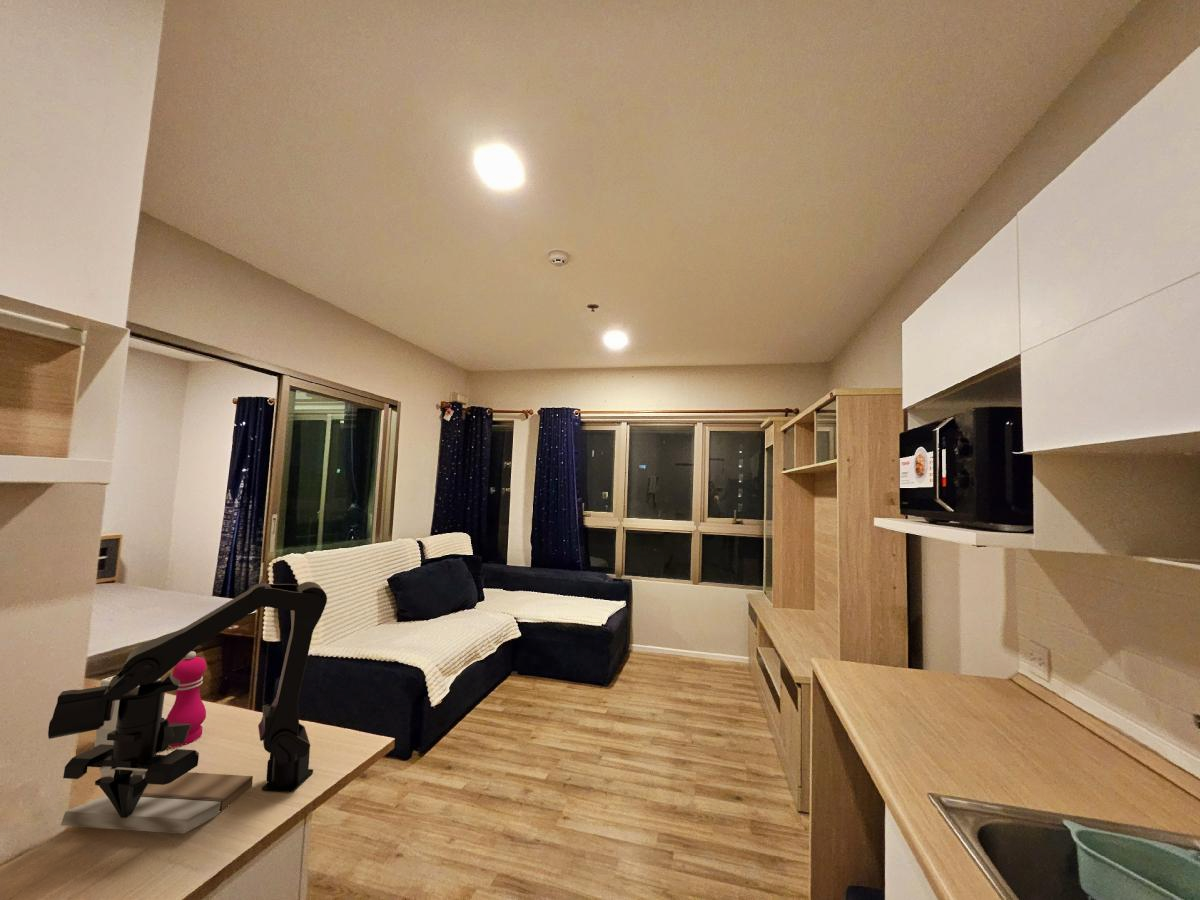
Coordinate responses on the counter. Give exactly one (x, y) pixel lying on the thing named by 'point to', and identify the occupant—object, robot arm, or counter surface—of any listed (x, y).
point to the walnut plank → (202, 788)
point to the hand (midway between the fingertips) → (126, 816)
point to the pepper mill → (189, 696)
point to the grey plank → (144, 815)
